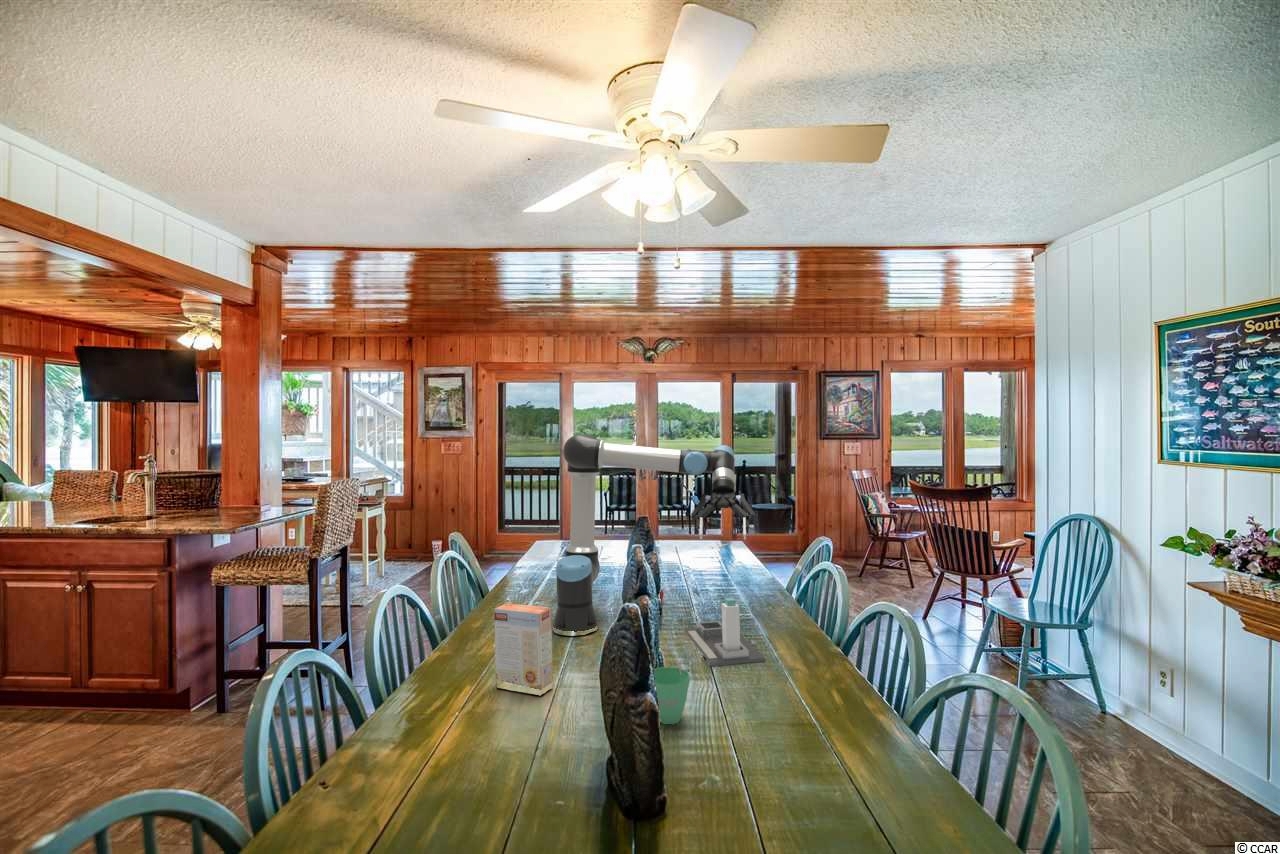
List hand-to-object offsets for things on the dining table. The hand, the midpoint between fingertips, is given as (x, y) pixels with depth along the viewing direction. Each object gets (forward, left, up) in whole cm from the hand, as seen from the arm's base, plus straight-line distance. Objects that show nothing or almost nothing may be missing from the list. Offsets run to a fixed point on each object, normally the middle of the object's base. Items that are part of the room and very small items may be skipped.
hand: (722, 537), depth 191 cm
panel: (-3, -6, -32) cm, 32 cm away
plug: (-3, -16, -31) cm, 34 cm away
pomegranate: (-15, +44, -32) cm, 57 cm away
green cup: (-31, -48, -32) cm, 65 cm away
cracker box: (-61, -24, -32) cm, 73 cm away
